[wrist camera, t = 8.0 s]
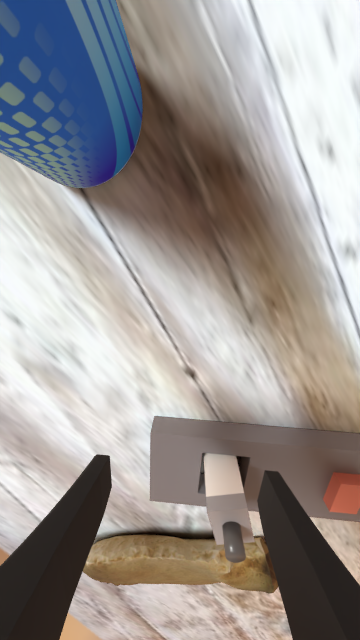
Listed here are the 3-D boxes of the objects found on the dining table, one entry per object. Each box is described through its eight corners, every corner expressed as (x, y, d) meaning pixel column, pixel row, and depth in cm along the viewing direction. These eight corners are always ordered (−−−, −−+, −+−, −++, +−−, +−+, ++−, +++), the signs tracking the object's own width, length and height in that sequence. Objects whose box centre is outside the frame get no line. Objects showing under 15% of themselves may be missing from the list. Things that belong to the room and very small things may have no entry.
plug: (232, 437, 21) (253, 536, 13) (238, 466, 22) (261, 572, 14) (202, 441, 21) (208, 540, 14) (210, 470, 22) (219, 574, 15)
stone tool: (277, 519, 23) (72, 521, 26) (293, 574, 20) (53, 570, 22) (273, 559, 28) (101, 558, 31) (285, 610, 24) (89, 603, 27)
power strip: (383, 435, 19) (416, 466, 17) (353, 499, 22) (377, 536, 19) (154, 416, 20) (148, 442, 17) (153, 480, 23) (147, 512, 20)
